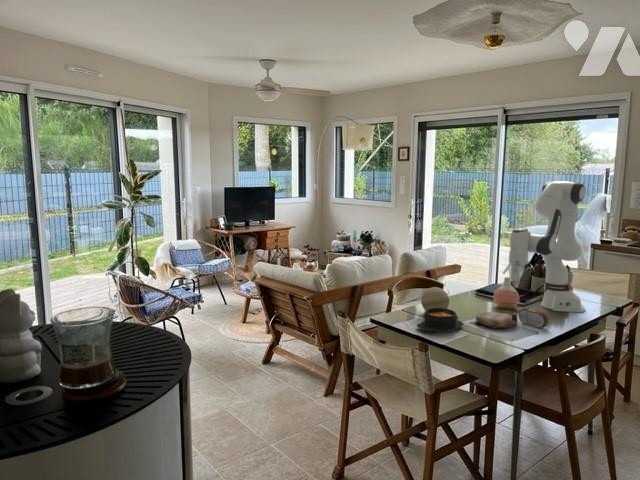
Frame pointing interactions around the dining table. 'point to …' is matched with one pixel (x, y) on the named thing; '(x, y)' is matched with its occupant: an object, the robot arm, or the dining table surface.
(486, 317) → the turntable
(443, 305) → the decorative ball
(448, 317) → the casserole
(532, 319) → the tin
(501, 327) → the turntable base
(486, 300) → the dining table surface
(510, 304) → the vase
